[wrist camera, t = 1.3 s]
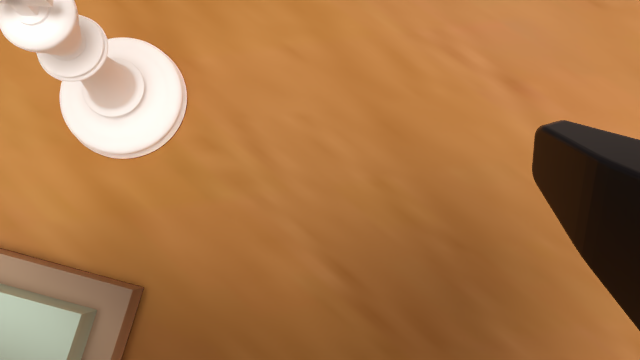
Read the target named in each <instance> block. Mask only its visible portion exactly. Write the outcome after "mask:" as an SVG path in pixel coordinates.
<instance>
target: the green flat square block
mask: <svg viewBox="0 0 640 360" xmlns="http://www.w3.org/2000/svg"><path fill="white" fill-rule="evenodd" d="M143 289H144V287H140V286H136V285H133V284H129V283H126V282H122V281H118V280H115V279H111V278H107V277H104V276H100V275H96V274H93V273H89V272H85V271H82V270H78V269H74V268H71V267H67V266H63V265H60V264H56V263H52V262H49V261H45V260H42V259H38V258H34V257H31V256H27V255H23V254H20V253H16V252H12V251H9V250H5V249H1V248H0V360H121V358H122V355H123V352H124V349H125V346H126V343H127V339H128V336H129V333H130V330H131V327H132V324H133V320H134V317H135V314H136V311H137V308H138V305H139V301H140V298H141V295H142V292H143Z"/></svg>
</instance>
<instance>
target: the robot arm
mask: <svg viewBox="0 0 640 360" xmlns="http://www.w3.org/2000/svg"><path fill="white" fill-rule="evenodd" d="M532 172H533V177H534V180H535V182H536V184H537V186H538V187H539V189H540V191H541V192H542V194H543V195H544V197H545V199H546V200H547V202H548V204H549V205H550V207H551V208H552V210H553V212H554V213H555V215H556V217H557V218H558V220H559V221H560V223H561V225H562V226H563V228H564V230H565V231H566V233H567V234H568V236H569V238H570V239H571V241H572V243H573V244H574V246H575V247H576V249H577V250H578V252H579V253H580V255H581V256H582V258H583V259H584V260H585V262H586V263H587V264H588V266H589V267H590V268H591V270H592V271H593V272H594V273H595V275H596V276H597V277H598V278H599V280H600V281H601V282H602V284H603V285H604V286H605V287H606V289H607V290H608V291H609V292H610V294H611V295H612V296H613V298H614V299H615V300H616V301H617V303H618V304H619V305H620V306H621V308H622V309H623V310H624V312H625V313H626V314H627V315H628V317H629V318H630V319H631V320H632V322H633V323H634V324H635V326H636V327H637V328H638V329H639V331H640V140H638V139H634V138H630V137H627V136H623V135H619V134H615V133H611V132H607V131H604V130H600V129H596V128H592V127H588V126H585V125H581V124H577V123H573V122H569V121H565V120H561V121H557V122H553V123H549V124H546V125H542V126H540V127H539V128H538V129H537V131H536V133H535V139H534V151H533V163H532Z"/></svg>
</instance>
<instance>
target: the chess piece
mask: <svg viewBox="0 0 640 360" xmlns="http://www.w3.org/2000/svg"><path fill="white" fill-rule="evenodd" d="M0 29H1V31H2V33H3V34H4V36H5V37H6V38H7V39H8V40H9V41H10V42H11V43H12V44H14V45H15V46H17V47H19V48H21V49H24V50H27V51H31V52H36V53H37V57H38V60H39V62H40V64H41V66H42V67H43V69H44V70H45V71H46V72H47V73H48V74H49V75H51V76H52V77H54V78H56V79H59V80H62V83H61V88H60V107H61V112H62V115H63V118H64V120H65V122H66V124H67V126H68V128H69V129H70V130H71V132H72V133H73V134H74V135H75V136H76V138H77V139H78V140H79V141H80V142H81V143H82V144H83V145H85V146H86V147H87V148H89V149H90V150H92V151H94V152H96V153H98V154H101V155H103V156H107V157H111V158H118V159H128V158H136V157H140V156H143V155H146V154H149V153H151V152H153V151H155V150H157V149H158V148H160V147H161V146H163V145H164V144H165V143H166V142H167V141H169V140H170V138H171V137H172V136H173V135H174V134H175V132H176V131H177V130H178V128H179V126H180V124H181V122H182V120H183V118H184V115H185V111H186V105H187V91H186V85H185V82H184V79H183V76H182V74H181V72H180V70H179V69H178V67H177V66H176V64H175V63H174V62H173V61H172V60H171V59H170V58H169V57H168V56H167V55H166V54H165V53H163V52H162V51H161V50H160V49H158V48H157V47H155V46H154V45H152V44H150V43H147V42H145V41H142V40H139V39H134V38H111V39H107V37H106V35H105V32H104V31H103V29H102V28H101V27H100V26H99V25H98V24H97V23H96V22H95V21H93V20H91V19H89V18H87V17H84V16H81V15H78V11H77V7H76V4H75V1H74V0H0Z"/></svg>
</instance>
